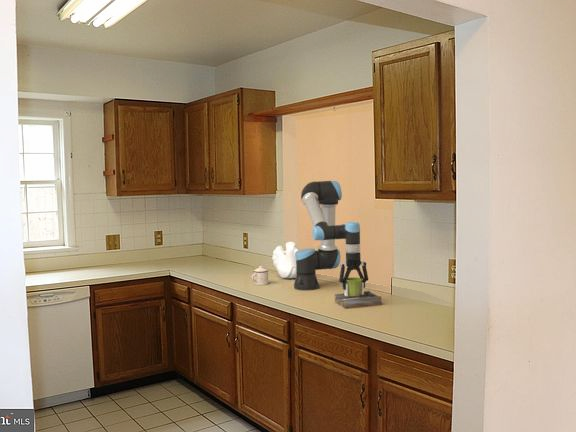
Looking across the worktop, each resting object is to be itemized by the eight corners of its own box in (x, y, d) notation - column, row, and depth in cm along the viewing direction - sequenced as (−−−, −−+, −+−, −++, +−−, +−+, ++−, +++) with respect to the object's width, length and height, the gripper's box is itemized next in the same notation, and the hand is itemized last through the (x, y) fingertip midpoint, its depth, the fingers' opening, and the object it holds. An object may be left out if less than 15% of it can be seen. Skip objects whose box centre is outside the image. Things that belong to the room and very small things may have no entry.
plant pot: (351, 292, 289) (350, 276, 288) (366, 294, 283) (366, 278, 282) (341, 296, 282) (341, 279, 281) (356, 298, 276) (356, 281, 275)
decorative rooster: (307, 278, 356) (306, 241, 355) (287, 281, 348) (286, 243, 346) (288, 273, 378) (287, 238, 376) (268, 276, 369) (267, 240, 368)
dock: (335, 302, 287) (334, 294, 287) (369, 299, 293) (369, 290, 292) (345, 308, 273) (345, 300, 273) (381, 304, 279) (381, 296, 279)
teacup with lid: (262, 282, 350) (261, 264, 349) (271, 283, 343) (270, 265, 342) (247, 285, 342) (247, 266, 341) (256, 286, 335) (256, 268, 334)
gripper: (336, 254, 274) (338, 298, 276) (374, 251, 280) (375, 294, 281) (331, 252, 281) (332, 295, 283) (368, 249, 287) (369, 291, 289)
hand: (354, 294), depth 282 cm, fingers closed on plant pot, 8 cm apart
